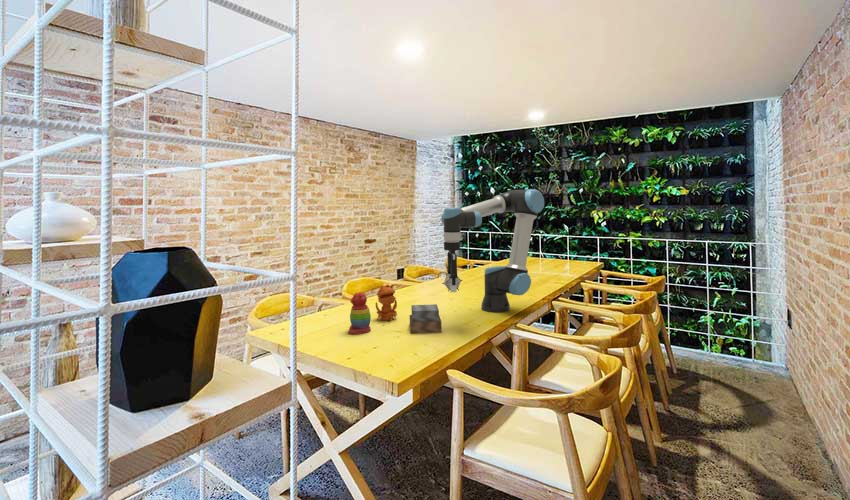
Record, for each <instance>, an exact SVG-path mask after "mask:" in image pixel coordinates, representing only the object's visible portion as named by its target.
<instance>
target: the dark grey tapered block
mask: <svg viewBox="0 0 850 500" xmlns="http://www.w3.org/2000/svg"><path fill="white" fill-rule="evenodd" d="M439 310H440V309H439V308H438V304H437V303H436V304H411V314H409V334H439V333H442V320H441V317H440V316H441V315H440V311H439Z"/></svg>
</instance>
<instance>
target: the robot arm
mask: <svg viewBox="0 0 850 500" xmlns="http://www.w3.org/2000/svg"><path fill="white" fill-rule="evenodd" d="M544 207H545V198H544V196H543V194H542V192H541V191H540V190H537V189H533V188H532V189H531V188H529V189H512V190H508V191H506V192H504V193H499V194H497V195H495V196H494V197H493V198H491V199H487V200H484V201H483V200H482V201H480V202H477V203H474V204H471V205H467V206H464V207H455V206H454V207H445V208H444V209H443V213H442V214H441V215H440V217H441V218H440V219H441V223H442V224H443V234H442V237H443V250H444V251H447V252H446V253H447V255H446V256H447V264H446V265H447V269H446V273H447V275H450V274H451V276H450V277H449V278H450V290H449V292H450V293H457V292H458V289H457V276H458V263H457V262H458V258H457V257H458V255H457V253H456V251H460V250H461V229H462V228H463V229H465V228H466V229H467V228H478V227H480V226H481V225H482V221H483V217H487V216H490V215H493V214H496V213H498V214H503V213H507V212H508V213H510V212H511V213H512V212H513V214H514V217H516V218H515V224H514V230H513V237H512V243H511V249H510V253H509V259H508V264H506V265H502V266H501V265H500V266H499V265H498V266H497V265H496V266H490V267H486V268H485V269H484V275H483V276H484V295H483V299H482V300H481V310H483V311H486V312H489V313H504V312H508V311H510V310H509V309H511V308H510V302H509V301H510V300H509V299H508V295H507V294H510V295H512V296H513V295H514V296H523V295H525V294H526V293H528V291H529V289H530V287H531V285H532V279H531V276H530V274H529V273H528V272H529V269H528V268H527V260H528V255H529V249H530V243H531V236H532V231H533V226H534V225H533V224H534V220H536V219H537V218H538V213H540V212H542V211H543V209H544ZM453 274H455V275H453Z"/></svg>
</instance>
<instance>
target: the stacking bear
mask: <svg viewBox="0 0 850 500" xmlns="http://www.w3.org/2000/svg"><path fill="white" fill-rule="evenodd" d="M367 298H368V297H367V295H366V294H365V293H362V292H360V291H359V292H356V293H354V295H353V296H352V297H351V298H350V300H349V301H350V303H351V305H352V306H351V310H350V314H349V321H350V326H349V329H348V331H347V333H348V335H355V336H356V335H361V334H366V333H369V332H370V331H371V326H370V325H371V318H372V317H371V312H370V308H369V306H368V305H367V302H368V299H367Z"/></svg>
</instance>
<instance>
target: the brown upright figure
mask: <svg viewBox="0 0 850 500" xmlns="http://www.w3.org/2000/svg"><path fill="white" fill-rule="evenodd" d="M395 294H396V290H395V289H394V285H389V284H387V285H385V286H382V285H380V287H379V290H378V291H377V292H376V296H377V300H378V302H379V303H380V304H381V305H382V306H381V309H380V308H379V305H378V302H375V308H376V314H377V318H378V319H381V321H384V322H388V321H392V320H393V319H394V318H397V316H398V313H397V310H396V309H397V307H398V303H397V298H396V297H395V296H394V295H395ZM392 304H393V306H392Z"/></svg>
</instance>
